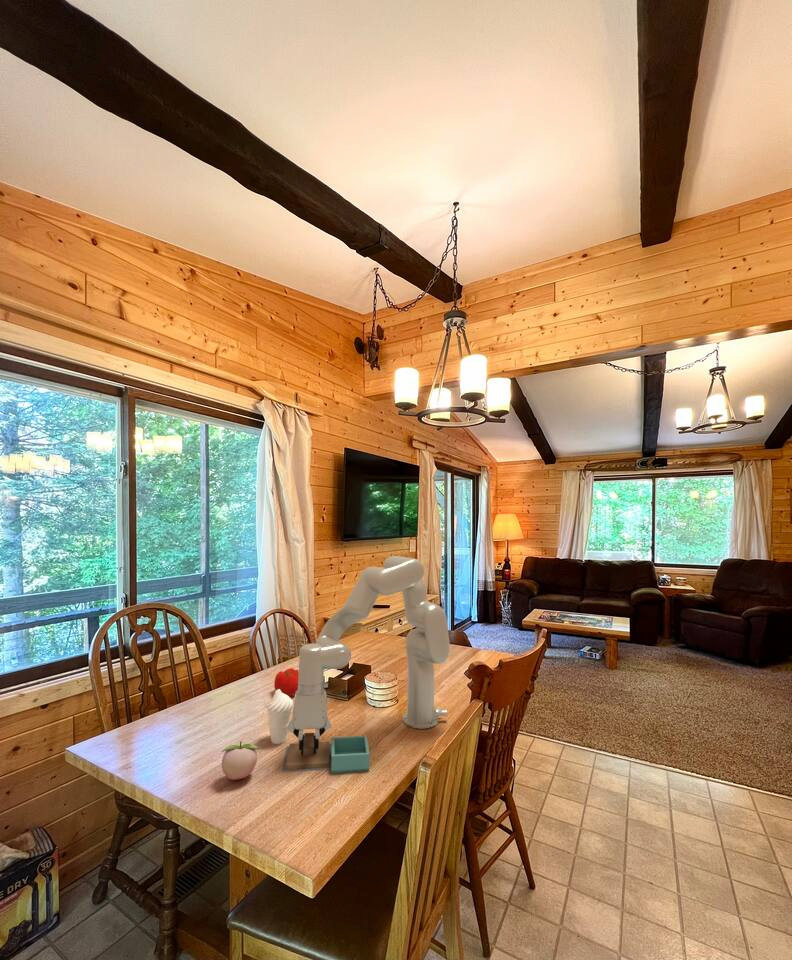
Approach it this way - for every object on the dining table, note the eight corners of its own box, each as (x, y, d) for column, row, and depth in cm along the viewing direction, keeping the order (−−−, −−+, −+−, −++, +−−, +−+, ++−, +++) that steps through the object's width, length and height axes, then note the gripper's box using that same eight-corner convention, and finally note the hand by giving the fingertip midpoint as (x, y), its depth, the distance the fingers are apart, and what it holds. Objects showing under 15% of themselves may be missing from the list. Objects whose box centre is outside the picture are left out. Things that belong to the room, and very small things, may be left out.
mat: (332, 745, 137) (332, 743, 137) (332, 770, 123) (332, 768, 123) (286, 747, 135) (286, 746, 135) (281, 773, 121) (281, 772, 121)
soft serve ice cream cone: (296, 737, 141) (298, 686, 142) (282, 750, 133) (284, 696, 134) (274, 733, 144) (276, 683, 145) (259, 745, 136) (261, 692, 137)
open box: (366, 752, 133) (366, 735, 133) (369, 772, 122) (369, 754, 123) (331, 754, 131) (331, 737, 132) (331, 775, 121) (331, 756, 121)
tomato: (287, 686, 183) (288, 664, 184) (307, 693, 176) (308, 670, 177) (267, 694, 175) (268, 671, 176) (286, 702, 168) (287, 678, 169)
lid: (329, 745, 136) (329, 724, 136) (328, 767, 124) (329, 744, 124) (289, 747, 134) (290, 726, 135) (285, 770, 122) (286, 746, 123)
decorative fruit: (220, 793, 112) (222, 753, 113) (219, 776, 119) (221, 738, 120) (258, 785, 116) (260, 746, 116) (255, 769, 123) (257, 732, 124)
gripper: (337, 681, 136) (336, 743, 134) (284, 683, 133) (281, 746, 132) (338, 691, 128) (336, 756, 127) (281, 693, 126) (278, 760, 124)
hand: (308, 751), depth 129 cm, fingers closed on lid, 3 cm apart
